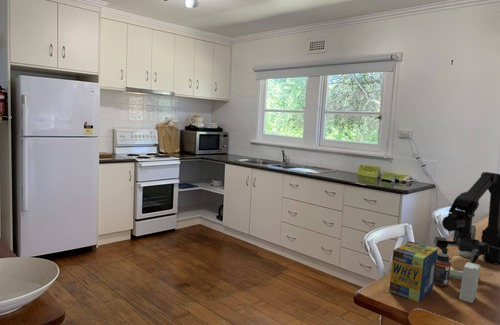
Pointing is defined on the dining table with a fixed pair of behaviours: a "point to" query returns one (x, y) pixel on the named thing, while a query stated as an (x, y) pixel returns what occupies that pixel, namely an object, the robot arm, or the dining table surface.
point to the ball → (458, 263)
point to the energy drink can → (473, 231)
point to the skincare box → (469, 282)
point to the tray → (456, 274)
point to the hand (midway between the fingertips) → (458, 265)
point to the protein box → (413, 270)
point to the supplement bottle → (442, 270)
